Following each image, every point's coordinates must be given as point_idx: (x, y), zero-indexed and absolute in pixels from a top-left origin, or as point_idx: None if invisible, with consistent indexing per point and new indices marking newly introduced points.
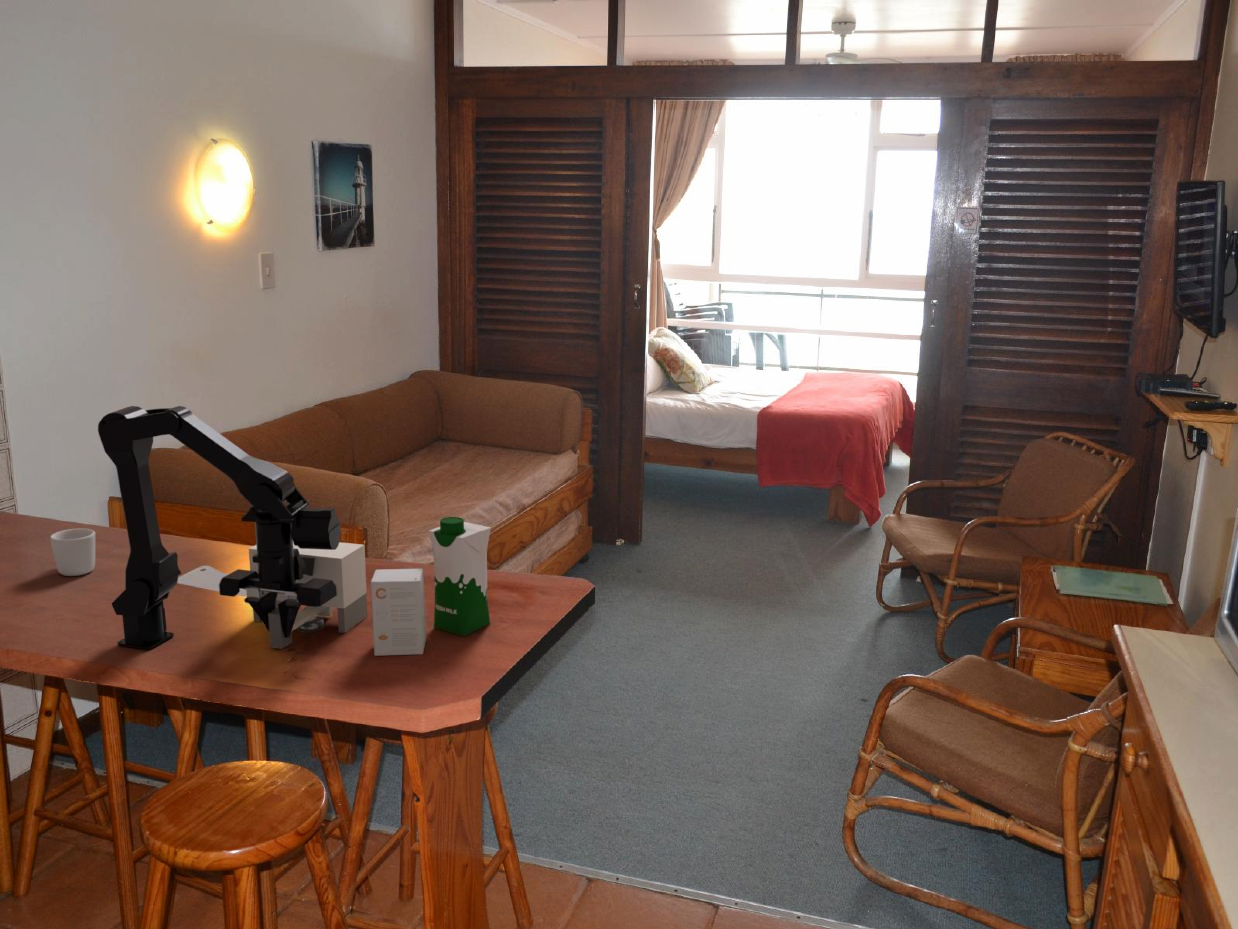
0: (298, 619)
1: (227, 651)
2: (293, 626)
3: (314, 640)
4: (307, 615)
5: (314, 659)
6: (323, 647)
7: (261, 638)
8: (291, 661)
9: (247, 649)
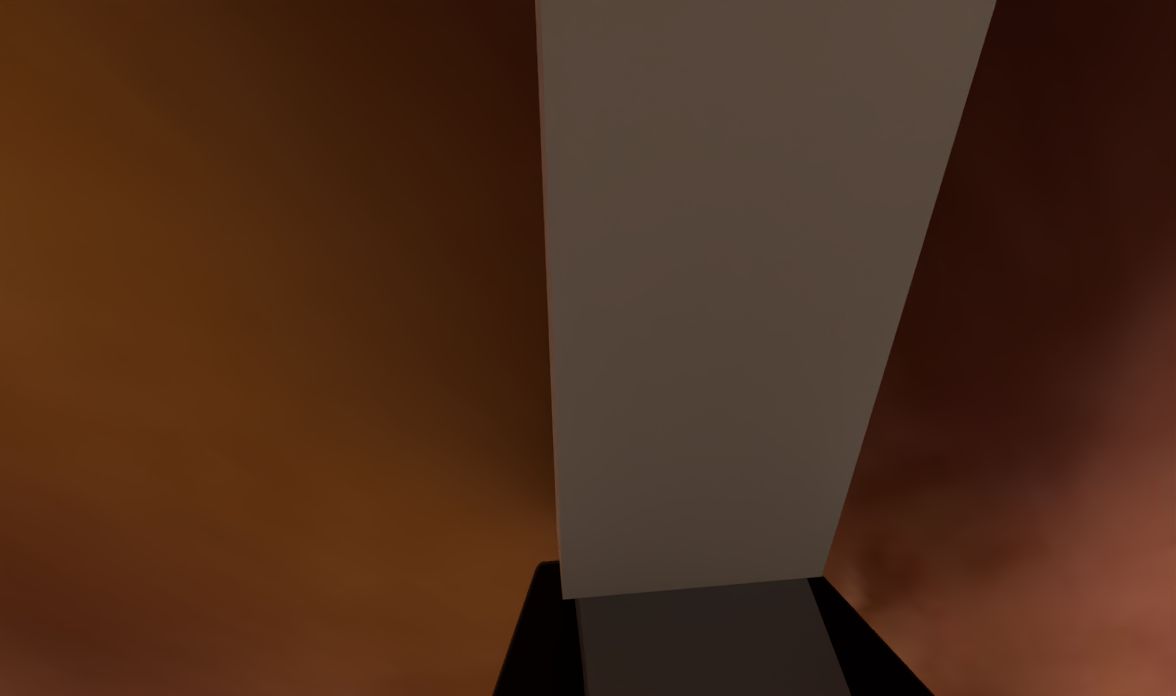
0: (814, 324)
1: (174, 656)
2: (826, 534)
3: (983, 158)
4: (965, 22)
5: (1087, 529)
6: (1149, 304)
7: (191, 342)
8: (884, 606)
9: (317, 581)
